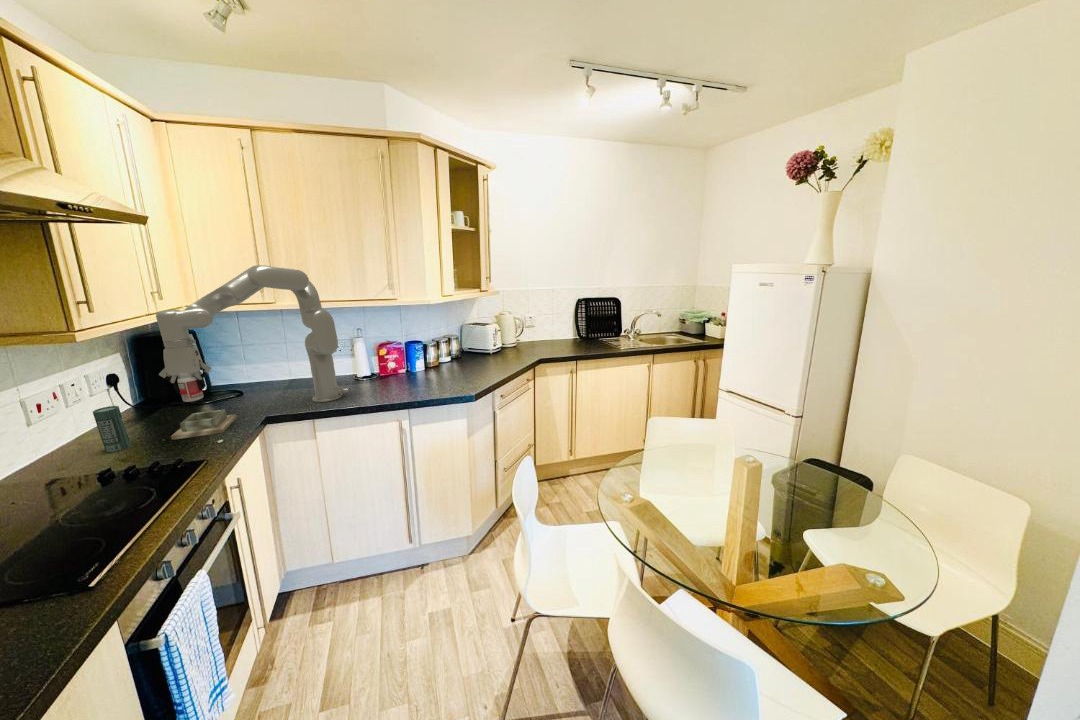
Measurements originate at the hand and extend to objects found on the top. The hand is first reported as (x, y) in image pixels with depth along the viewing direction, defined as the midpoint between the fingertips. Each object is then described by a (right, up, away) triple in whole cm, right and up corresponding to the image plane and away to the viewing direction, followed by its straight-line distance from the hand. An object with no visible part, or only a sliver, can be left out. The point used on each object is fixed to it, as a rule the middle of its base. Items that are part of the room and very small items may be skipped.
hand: (191, 390), depth 153 cm
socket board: (0, -15, +7) cm, 17 cm away
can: (-19, -20, -8) cm, 29 cm away
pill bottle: (0, -4, +1) cm, 4 cm away
